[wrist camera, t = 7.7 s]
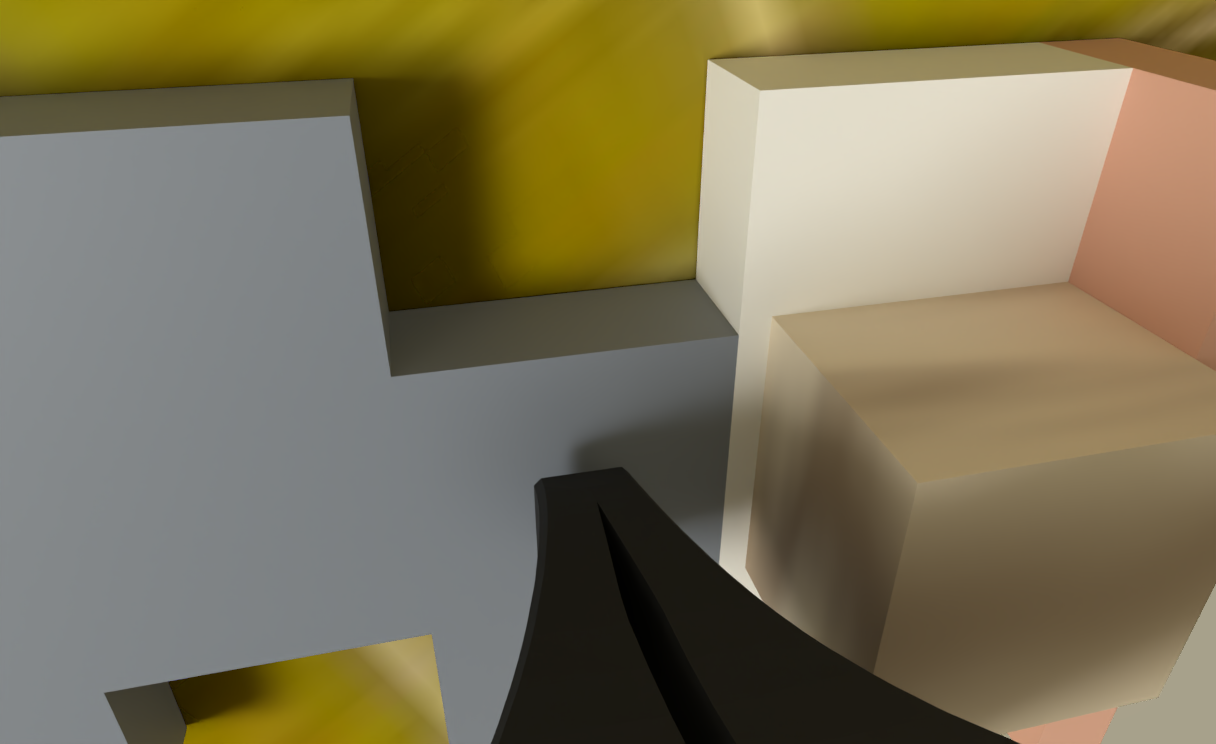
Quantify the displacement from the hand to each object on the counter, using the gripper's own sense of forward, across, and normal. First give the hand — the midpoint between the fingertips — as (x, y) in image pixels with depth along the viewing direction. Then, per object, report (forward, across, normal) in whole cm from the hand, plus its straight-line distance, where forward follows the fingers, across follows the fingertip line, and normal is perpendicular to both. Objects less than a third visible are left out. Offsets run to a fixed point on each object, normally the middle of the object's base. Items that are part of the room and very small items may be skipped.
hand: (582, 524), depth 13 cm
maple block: (+1, -6, 0) cm, 6 cm away
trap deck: (+3, +2, 0) cm, 3 cm away
